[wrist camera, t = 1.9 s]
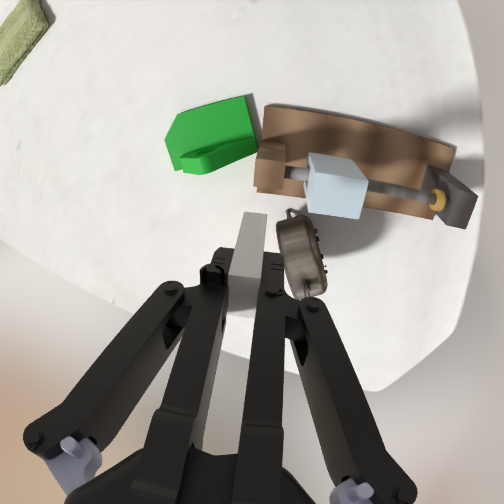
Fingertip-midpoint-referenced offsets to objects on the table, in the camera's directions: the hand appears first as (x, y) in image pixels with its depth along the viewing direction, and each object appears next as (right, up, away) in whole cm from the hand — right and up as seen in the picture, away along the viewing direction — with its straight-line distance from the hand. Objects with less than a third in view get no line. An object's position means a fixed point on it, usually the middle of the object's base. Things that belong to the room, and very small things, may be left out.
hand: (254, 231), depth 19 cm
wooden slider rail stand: (+15, +11, +17) cm, 25 cm away
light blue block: (+8, +8, +12) cm, 16 cm away
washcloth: (-43, +38, +6) cm, 57 cm away
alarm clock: (+7, +2, +24) cm, 26 cm away
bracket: (-6, +15, +17) cm, 24 cm away
